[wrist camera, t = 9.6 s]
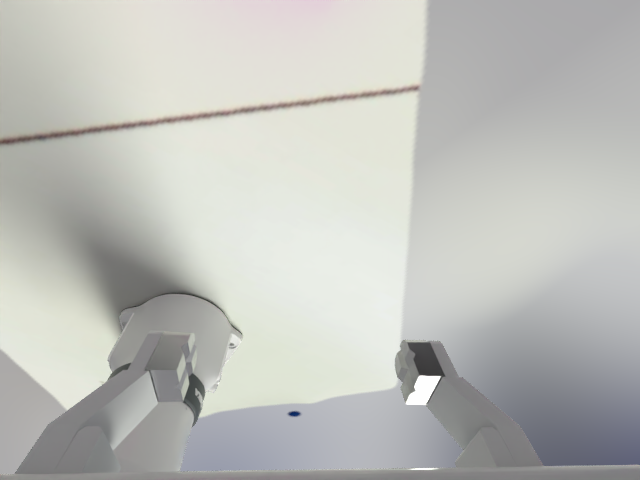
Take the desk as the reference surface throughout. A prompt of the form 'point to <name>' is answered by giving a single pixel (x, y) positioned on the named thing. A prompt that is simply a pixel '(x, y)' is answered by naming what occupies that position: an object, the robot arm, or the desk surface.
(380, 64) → the desk surface
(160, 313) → the robot arm
